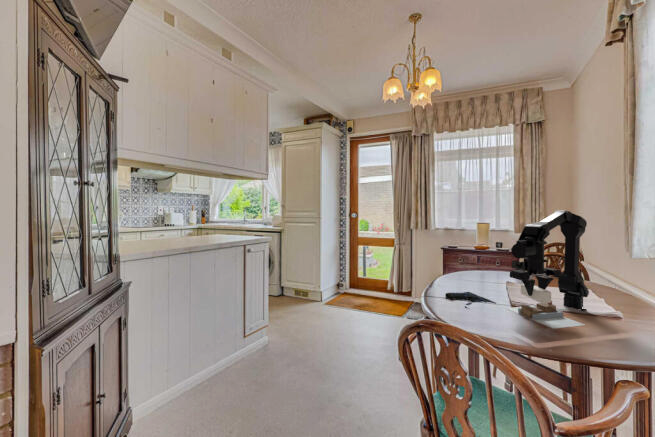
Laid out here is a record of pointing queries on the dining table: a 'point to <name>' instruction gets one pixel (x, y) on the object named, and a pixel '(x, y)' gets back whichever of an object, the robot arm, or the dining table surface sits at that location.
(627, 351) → the dining table surface
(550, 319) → the jig board
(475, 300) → the gun
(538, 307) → the brown box with tab
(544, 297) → the long cream prism
